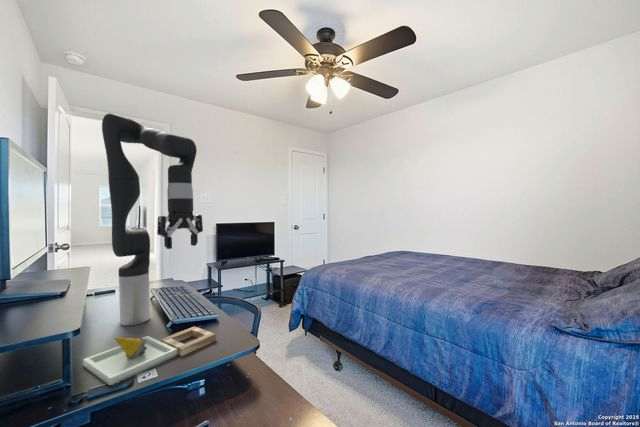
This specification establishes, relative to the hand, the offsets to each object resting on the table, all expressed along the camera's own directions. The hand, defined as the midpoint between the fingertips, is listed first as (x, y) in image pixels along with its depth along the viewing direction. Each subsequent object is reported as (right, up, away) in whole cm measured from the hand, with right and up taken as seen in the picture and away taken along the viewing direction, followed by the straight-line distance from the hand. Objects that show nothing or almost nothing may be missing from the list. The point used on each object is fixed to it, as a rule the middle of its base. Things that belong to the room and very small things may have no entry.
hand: (181, 246), depth 95 cm
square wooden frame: (+6, -28, -8) cm, 30 cm away
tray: (-5, -29, -17) cm, 34 cm away
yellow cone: (-5, -28, -17) cm, 33 cm away
